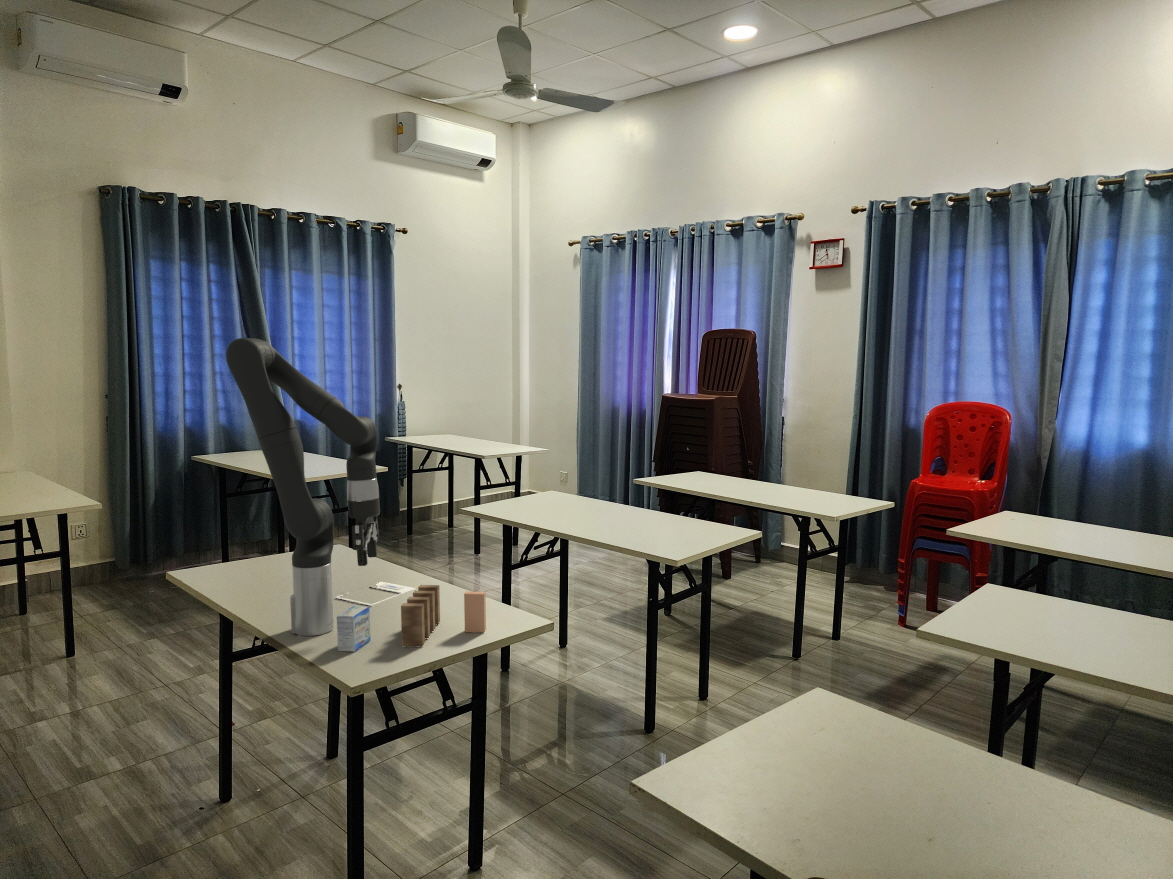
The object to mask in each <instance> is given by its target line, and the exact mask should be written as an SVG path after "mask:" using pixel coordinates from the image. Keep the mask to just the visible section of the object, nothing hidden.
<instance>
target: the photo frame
mask: <svg viewBox="0 0 1173 879" xmlns="http://www.w3.org/2000/svg"><path fill="white" fill-rule="evenodd" d="M376 583H377V584H376V585H377V586H378V587H377V588H380V589H384V590H388V591H393V592H398V593H401V594H395V595H393V596H390V597H387V598H383V600H382V599H381V600H379V601H377V602H373V603H368V602H363V601H359V600H354V599H349V598H346V597H345V598H344V597H342V598H341V597H340V596H343V594H340V595H337V596H335V597H334V599H335V598H339V599H344V600H349V601H352V602H357V603H361V604H366V605H370V606H373V605H376V604H378V605H380V604H379V603H381V602H384V601H387V600H389V599H392V598H394V597H397V596H399V595H402V594H404V593H407V592H410V591H413V590H415V589H417V590H418V587H417V588H416V587H411V586H406V585H401V584H395V583H392V582H391V583H389V582H385V581H379V583H378V582H376ZM413 592H414V591H413ZM346 593H347V594H348V593H349V592H346ZM397 598H398V597H397ZM392 600H393V599H392ZM389 601H390V600H389ZM387 602H388V601H387ZM384 603H385V602H384ZM381 604H382V603H381ZM376 606H377V605H376ZM373 607H374V606H373Z"/></svg>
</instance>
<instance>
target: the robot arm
mask: <svg viewBox="0 0 1173 879" xmlns="http://www.w3.org/2000/svg"><path fill="white" fill-rule="evenodd" d="M225 359H226V363H227V366H228V369H229V371H230V373H231V375H232V377H233V379H234V381H235V383H236V385H237V388H238V389H239V392H240V394H241V395H242V398H243V400H244V402H245V405H246V409H247V411H248V414H249V417H250V420H251V423H252V426H253V428H254V431H255V435H256V437H257V441H258V443H259V445H260V449H261V451H262V454H263V456H264V459H265V462H266V464H267V467H268V469H269V473H270V475H271V479H272V481H273V483H274V486H275V488H276V492H277V497H278V500H279V504H280V508H281V512H282V516H283V521H284V524H285V527H286V529H287V531H288V532H289V534H290V535H291V536H292V537H293V538H294V539H296V545H295V548H294V550H293V553H292V555H291V568H292V587H293V588H292V589H293V590H292V591H293V594H291V596H290V598H289V602H290V621H291V622H290V623H291V624H290V626H291V629H290V630H291V634H296V635H299V636H303V637H304V636H305V637H311V636H312V637H313V636H318V635H319V636H320V635H323V634H327V633H329V632H330V631H332V630H333V629H334V605H333V604H334V603H333V577H332V576H333V575H332V574H333V573H332V553H333V549H334V517H333V516H334V515H333V511H332V509H331V506H330V505H329V504H328V503H327V502H326V501H325V500H323V499H320V498H312V495H311V493H310V490H309V488H308V486H307V482H306V481H307V480H306V476H305V453H304V447H303V443H302V439H301V436H300V434H299V431H298V428H297V425H296V423H295V420H294V419H293V417H292V415H291V414H290V413H289V411H288V410H287V409H286V407H285V406H284V404H283V403H282V401H281V400H280V399H279V398H278V396H277V395H276V393H275V392H274V390H273V387H272V385H271V383H272V384H275V385H276V386H278V387H279V388H280V389H282V391H284V392H285V393H286V394H287V395H288V396H289V398H291V399H292V401H293V402H295V404H296V405H297V406H298V407H299V408H300V409H302V410H303V411H304V412H305V413H307V414H309V415H310V416H311V417H312V418H314V419H315V420H317V421H318V422H319V423H321V424H323V425H325V426H326V427H327V429H328V430H329V431H330V432H331V433H333V434H334V436H335V437H336V438H338V439H339V440H340V441H342V442H343V443H345V444H346V445H349V450H350V451H349V456H348V458H347V459H346V479H347V480H346V481H347V484H346V494H347V508H348V509H347V510H348V511H347V512H348V517H349V518H351V519H356V522H355V523H356V524H355V525H354V524H353V525H352V526H351V532H352V533H351V534H352V535H351V537H352V540H351V541H352V550H353V551H356V558H357V560H356V561H357V566H359V567H364V566H365V567H366V566H367V565H368V562H369V561H368V558H376V557H377V556H378V549H377V542H378V539H379V538H380V530H379V521H378V516H379V515H380V513H381V505H380V503H381V502H380V490H379V483H378V477H377V463H376V456H377V446H378V429H377V426H376V424H375V422H374V420H372V418H370V417H368V416H365V415H362V416H357V415H356V414H354V413H352V412H351V411H349V410H348V409H347V408H346V407H345V404H344V403H343V402H342V401H341V400H339V399H338V398H337V397H336V396H334V395H333V394H332V393H330V392H329V391H327V390H326V389H324V388H323V387H321V386H319V385H318V384H317V383H315V382H314V381H313V380H311V379H310V378H308V377H307V376H306V375H305V374H303V373H302V372H300V371H299V369H296V367H295V366H293V365H292V364H291V363H290V362H289V361H288V360H287V359H286V358H285V357H283V355H282V354H280V352H278V351H277V350H276V349H275V347H273V346H272V345H271V344H270V343H268V342H267V341H265V340H263V339H261V338H250V337H240V338H236V339H234V340H232V341H231V342H229V344H228V345H227V348H226V353H225Z"/></svg>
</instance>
